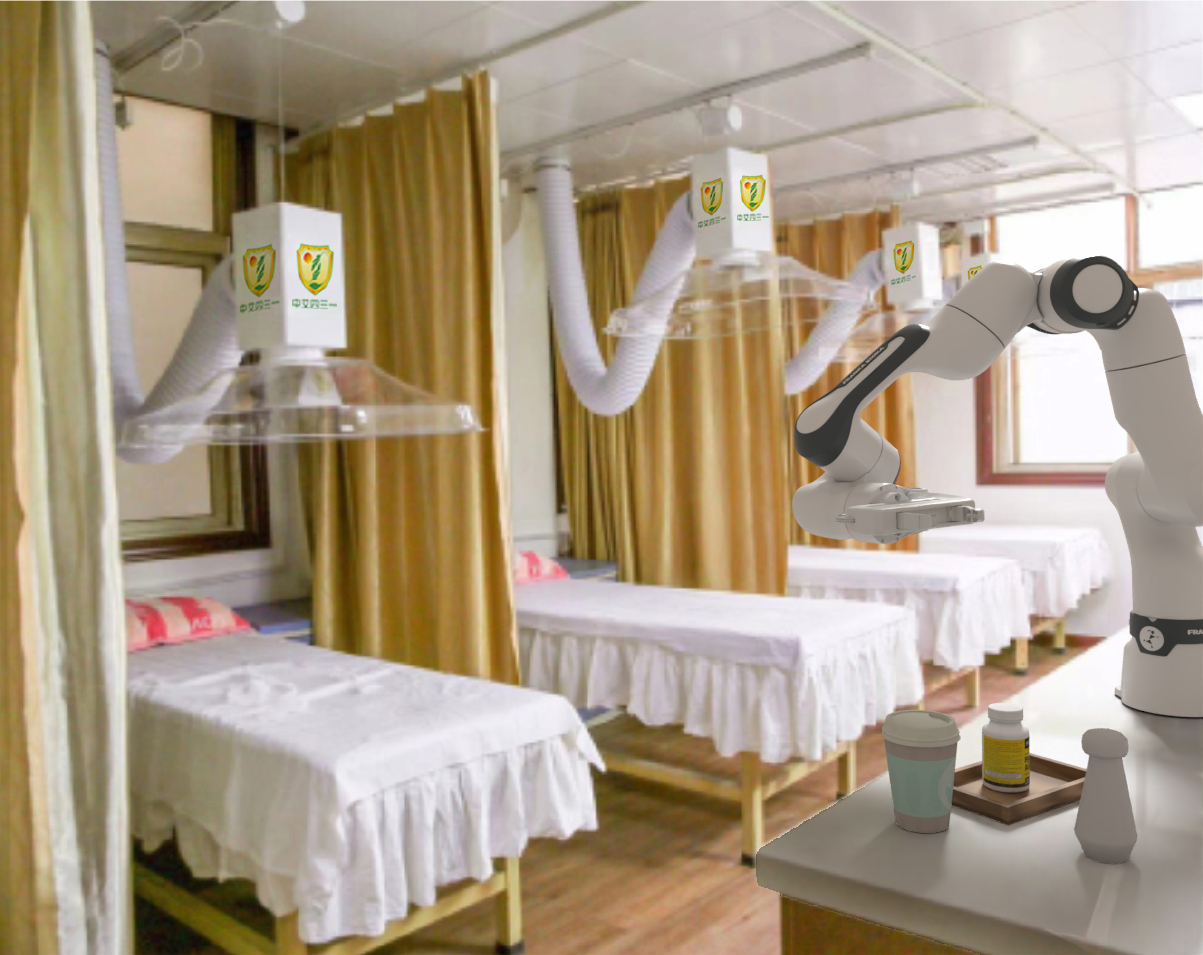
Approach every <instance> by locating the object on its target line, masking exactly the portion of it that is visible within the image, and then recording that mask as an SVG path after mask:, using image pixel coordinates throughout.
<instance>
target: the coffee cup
mask: <svg viewBox="0 0 1203 955" xmlns="http://www.w3.org/2000/svg"><path fill="white" fill-rule="evenodd" d="M881 730H882V731H881V732H880V734H881V737H882V738H883V741H884V747H885V748H884V749H885V756H886V762H887V764H886V765H887V768H888V770H887V771H888V777H889V784H890V791H891V799H892V807H893V815H894V819H895V820H894V821H895V824H896V823H897V824H896V825H897V826H898V827H899V826H900V827H899V828H901V827H902V828H901V829H903V828H905V829H907V830H906V831H908V830H909V832H912V831H913V832H914V833H916V834H917V833H919V834H936V832H937V833H940V832H944V831H946V830H947V829H949V828H950V822H951V813H952V805H951V804H952V794H953V784H954V774H955V769H956V761H957V753H958V751H957V750H958V743H959V741H960V740H961V735H960V730H959V728H958V726H957V723H956V720H955V718H954V717H953V716H951V715H949V714H947V713H944V712H939V711H935V710H927V709H904V710H903V709H902V710H897V711H894V712H890V713H888V714H887V715H886V716H885V720H884V723H883V725H882V726H881ZM905 829H904V830H905ZM913 832H912V833H913Z"/></svg>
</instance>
